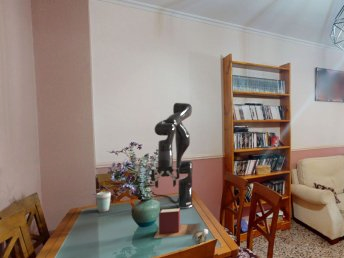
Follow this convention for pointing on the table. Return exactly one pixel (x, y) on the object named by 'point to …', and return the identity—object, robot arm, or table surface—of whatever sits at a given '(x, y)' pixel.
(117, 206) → the table surface
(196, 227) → the mat
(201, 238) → the eagle figurine
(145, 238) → the table surface
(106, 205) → the coffee cup
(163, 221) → the book
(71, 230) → the table surface
